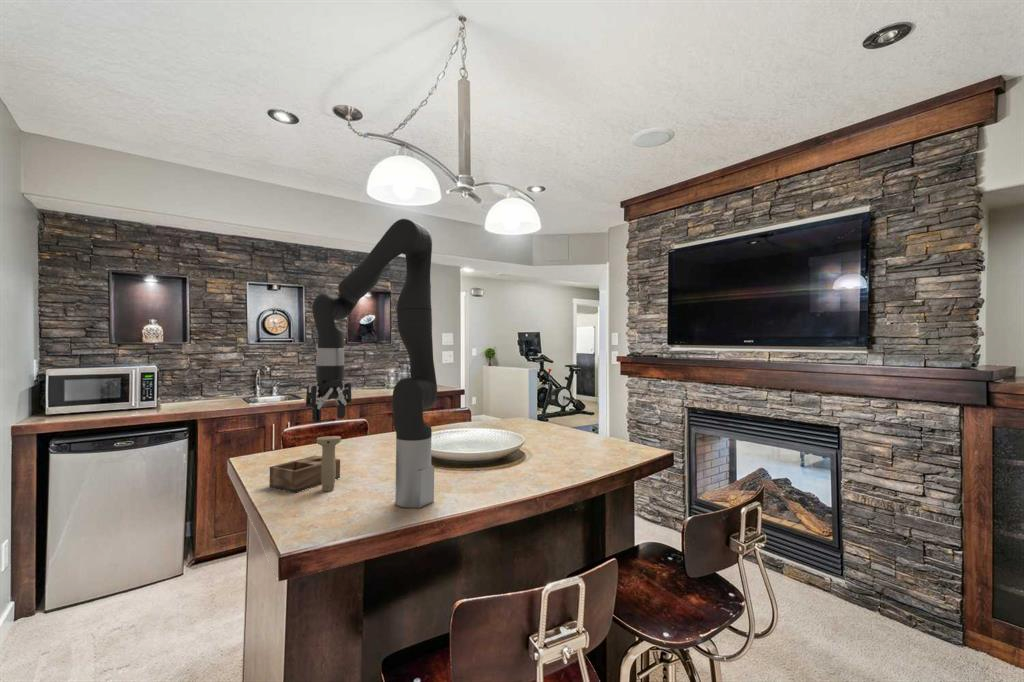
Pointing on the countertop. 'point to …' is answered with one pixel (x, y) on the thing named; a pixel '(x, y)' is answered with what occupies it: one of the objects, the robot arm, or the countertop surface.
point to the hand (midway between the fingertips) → (329, 420)
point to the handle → (328, 461)
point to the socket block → (299, 474)
